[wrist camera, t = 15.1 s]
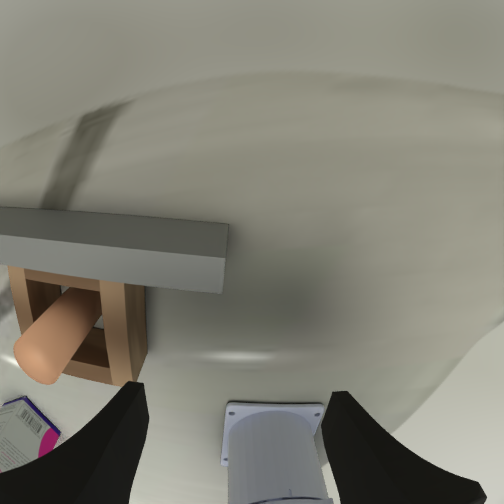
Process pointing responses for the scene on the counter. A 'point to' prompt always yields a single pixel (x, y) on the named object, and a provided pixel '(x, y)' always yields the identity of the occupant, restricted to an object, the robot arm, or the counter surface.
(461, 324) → the counter surface
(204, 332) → the counter surface
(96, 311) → the dowel
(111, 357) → the socket block
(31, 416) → the supplement box
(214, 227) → the wall
